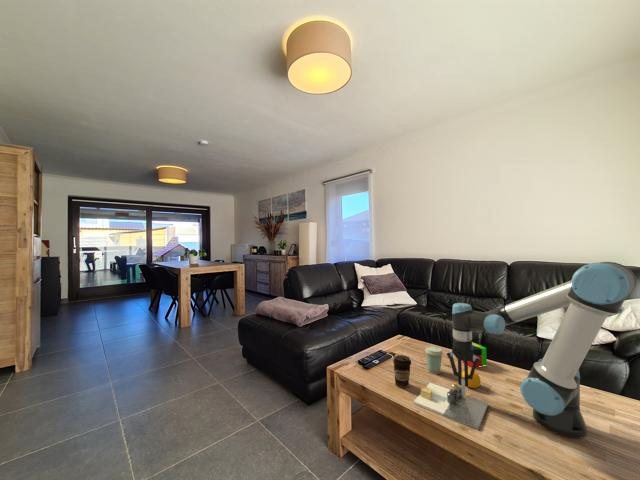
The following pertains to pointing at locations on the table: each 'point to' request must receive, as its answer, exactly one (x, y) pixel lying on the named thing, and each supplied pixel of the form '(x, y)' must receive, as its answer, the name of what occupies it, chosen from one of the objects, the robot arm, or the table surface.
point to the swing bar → (456, 391)
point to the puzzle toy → (478, 355)
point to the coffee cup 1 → (402, 370)
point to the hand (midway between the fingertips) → (463, 392)
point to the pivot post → (450, 397)
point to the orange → (475, 381)
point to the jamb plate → (467, 411)
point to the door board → (433, 398)
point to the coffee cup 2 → (434, 359)
